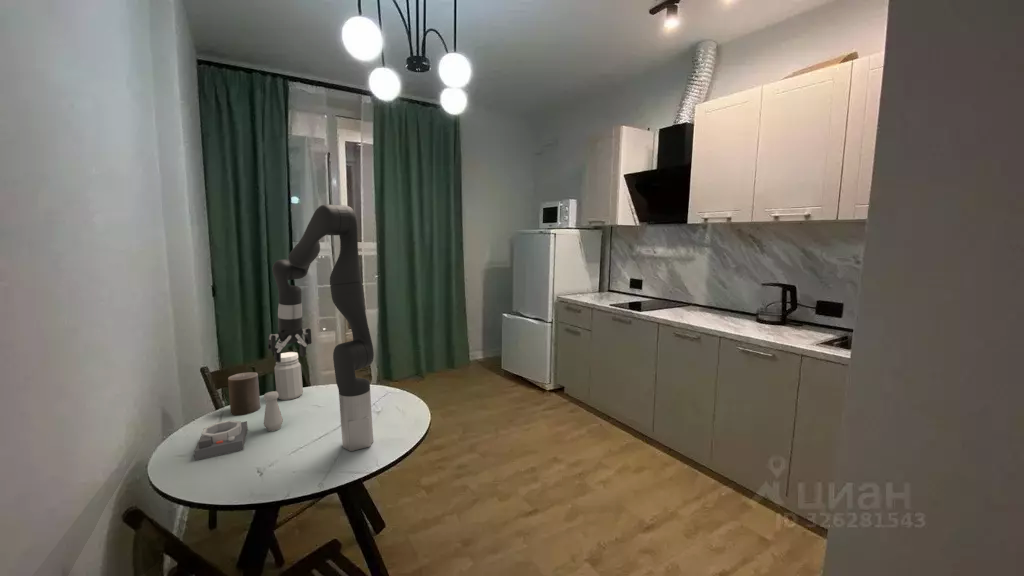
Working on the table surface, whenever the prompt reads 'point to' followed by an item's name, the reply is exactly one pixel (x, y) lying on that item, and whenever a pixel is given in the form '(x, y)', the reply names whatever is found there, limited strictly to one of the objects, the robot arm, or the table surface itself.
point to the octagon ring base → (221, 439)
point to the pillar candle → (244, 393)
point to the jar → (288, 376)
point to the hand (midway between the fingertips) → (290, 358)
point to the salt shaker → (272, 412)
